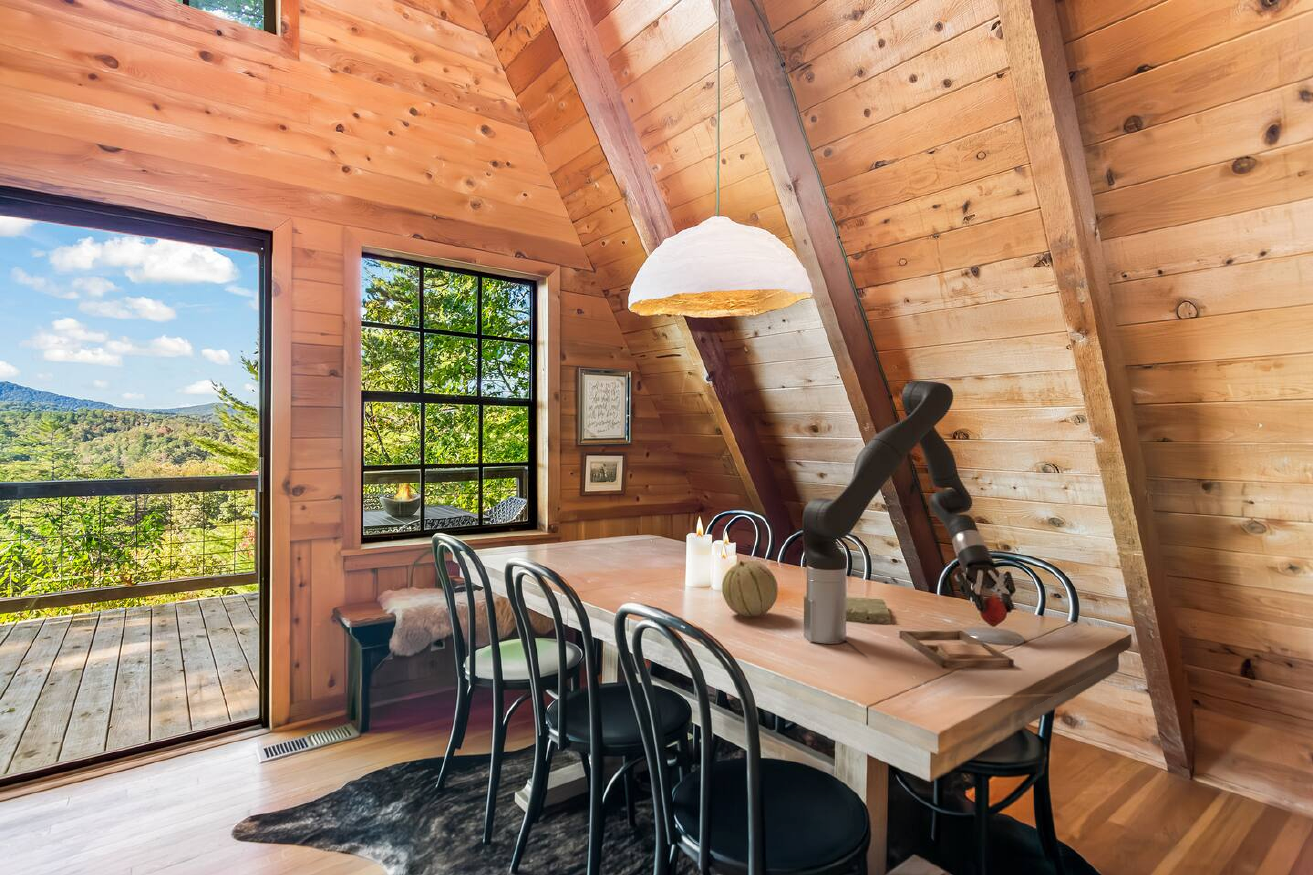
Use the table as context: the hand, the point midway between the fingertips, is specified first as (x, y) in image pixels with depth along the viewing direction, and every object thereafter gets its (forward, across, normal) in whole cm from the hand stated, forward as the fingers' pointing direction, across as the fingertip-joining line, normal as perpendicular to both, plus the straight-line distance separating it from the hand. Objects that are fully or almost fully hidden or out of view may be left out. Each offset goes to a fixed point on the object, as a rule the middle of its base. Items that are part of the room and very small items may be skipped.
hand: (997, 610), depth 166 cm
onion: (+2, 0, +4) cm, 5 cm away
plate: (+4, 0, +6) cm, 7 cm away
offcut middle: (+15, -16, -6) cm, 23 cm away
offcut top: (+15, -16, -7) cm, 22 cm away
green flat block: (-13, -27, +24) cm, 38 cm away
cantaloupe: (-12, -55, +22) cm, 60 cm away
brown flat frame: (+12, -16, -2) cm, 19 cm away
